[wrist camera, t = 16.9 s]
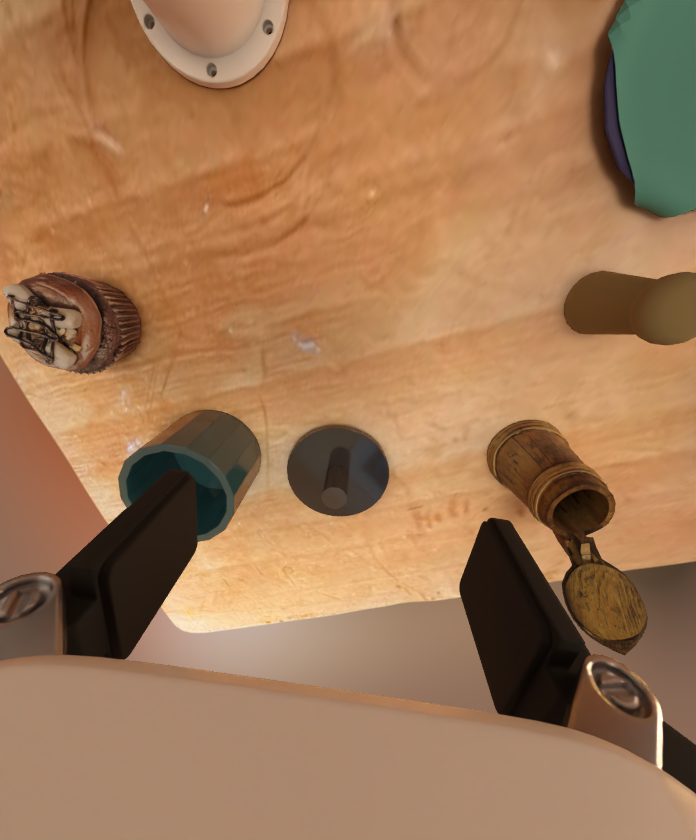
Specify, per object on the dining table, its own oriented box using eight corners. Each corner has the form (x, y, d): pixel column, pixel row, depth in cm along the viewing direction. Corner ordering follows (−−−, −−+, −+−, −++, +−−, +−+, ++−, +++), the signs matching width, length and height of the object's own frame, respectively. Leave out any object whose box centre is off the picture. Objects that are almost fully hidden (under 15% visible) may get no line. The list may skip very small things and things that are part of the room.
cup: (172, 484, 45) (125, 533, 36) (167, 403, 40) (112, 436, 31) (259, 497, 45) (232, 549, 36) (263, 417, 40) (235, 454, 31)
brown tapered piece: (579, 346, 35) (666, 370, 25) (553, 298, 34) (633, 304, 24) (637, 308, 34) (754, 318, 24) (612, 257, 32) (726, 243, 22)
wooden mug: (489, 519, 44) (565, 661, 27) (485, 426, 39) (573, 530, 23) (561, 510, 43) (684, 652, 26) (565, 414, 38) (719, 513, 22)
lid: (285, 503, 45) (273, 535, 39) (293, 416, 40) (281, 438, 34) (378, 517, 45) (380, 551, 39) (397, 432, 40) (402, 456, 34)
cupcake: (60, 261, 35) (-51, 253, 26) (153, 288, 35) (77, 290, 26) (64, 350, 38) (-32, 371, 29) (148, 374, 39) (81, 401, 30)
